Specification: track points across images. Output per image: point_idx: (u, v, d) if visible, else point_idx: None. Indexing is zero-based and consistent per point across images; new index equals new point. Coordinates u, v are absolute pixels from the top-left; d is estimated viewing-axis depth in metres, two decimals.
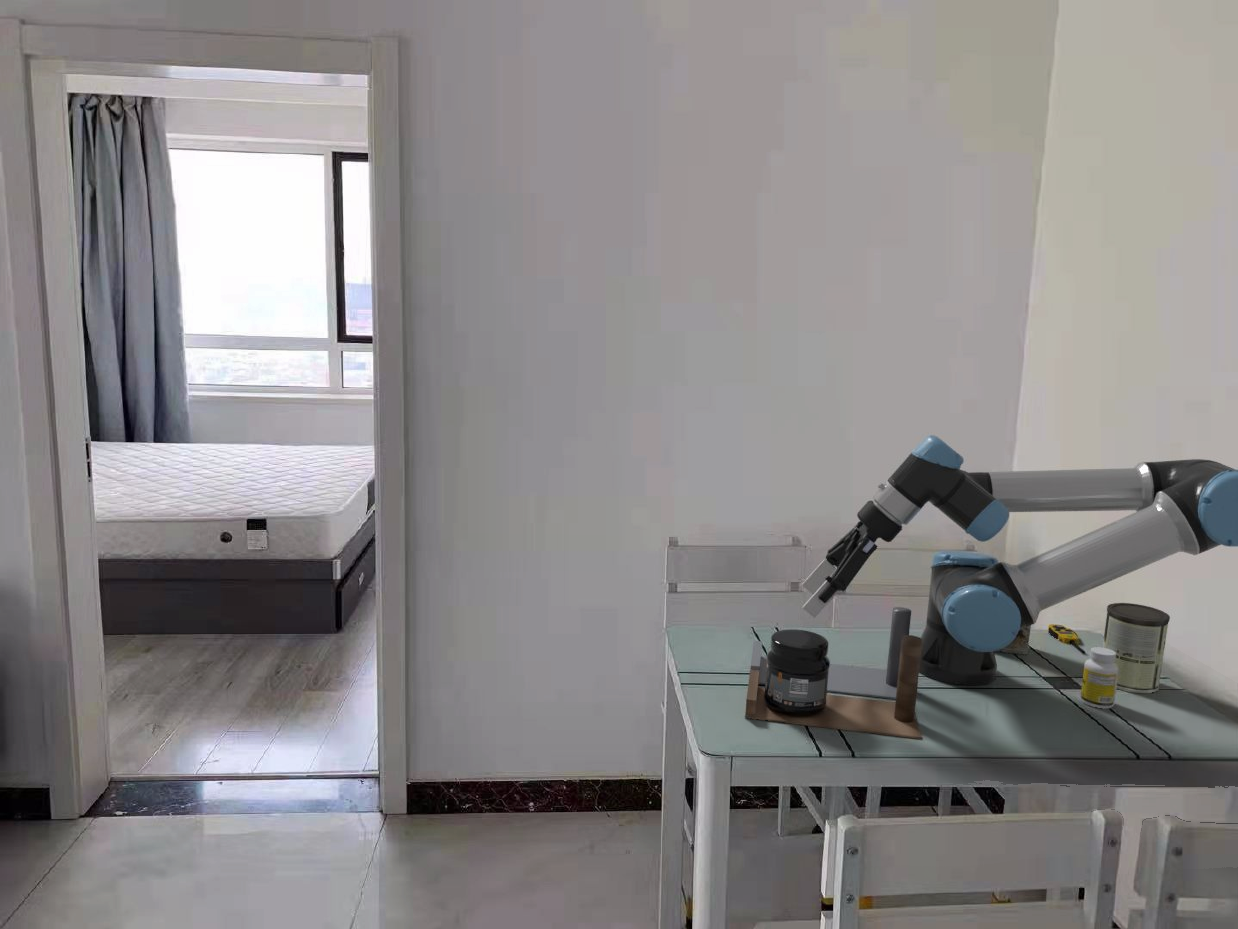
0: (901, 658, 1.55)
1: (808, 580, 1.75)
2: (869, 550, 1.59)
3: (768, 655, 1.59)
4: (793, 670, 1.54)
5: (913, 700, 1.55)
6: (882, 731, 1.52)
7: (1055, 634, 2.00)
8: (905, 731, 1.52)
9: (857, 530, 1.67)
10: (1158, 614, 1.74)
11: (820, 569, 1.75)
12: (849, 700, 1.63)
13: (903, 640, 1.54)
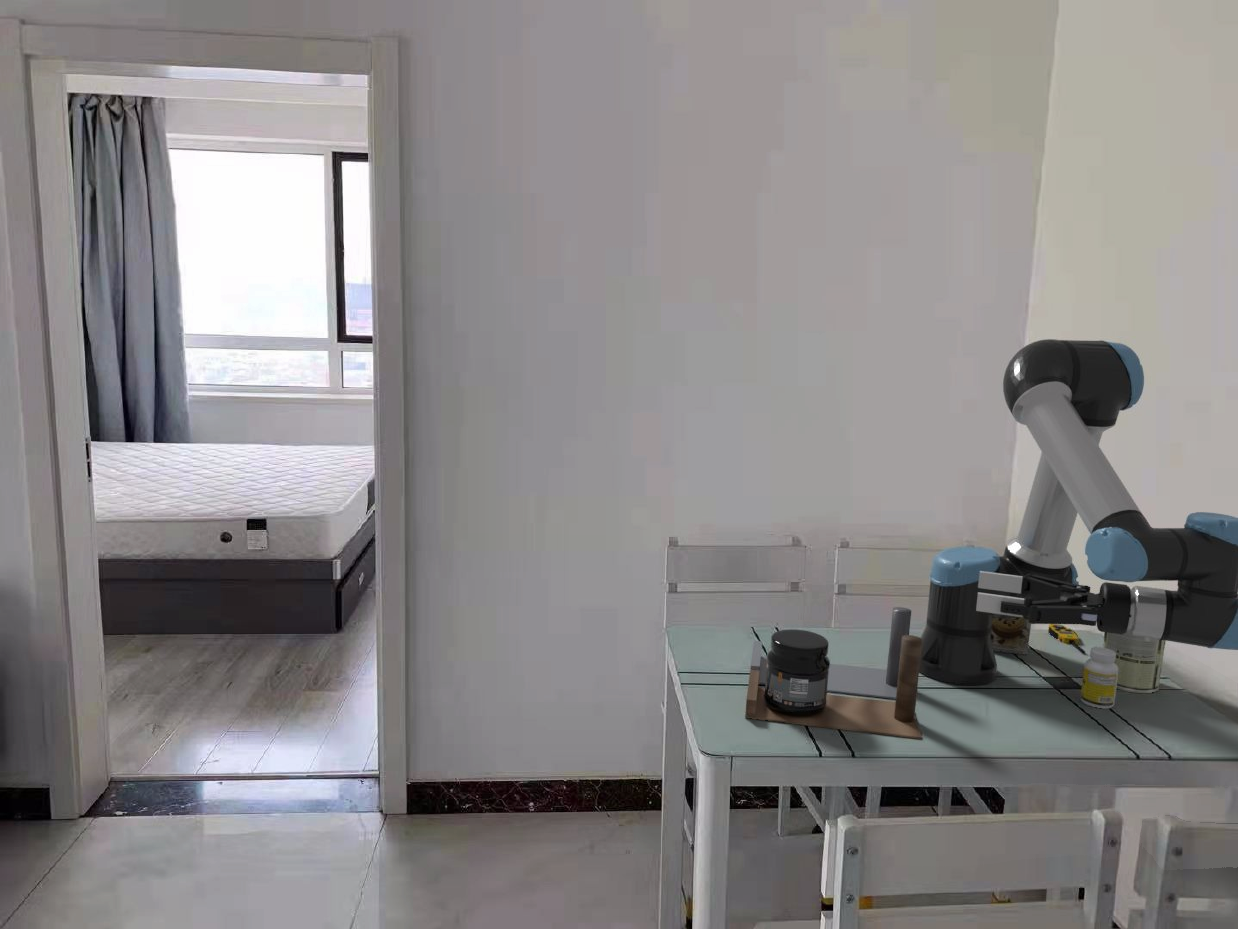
0: (901, 658, 1.55)
1: None
2: None
3: (768, 655, 1.59)
4: (793, 670, 1.54)
5: (913, 700, 1.55)
6: (882, 731, 1.52)
7: (1055, 634, 2.00)
8: (905, 731, 1.52)
9: None
10: None
11: None
12: (849, 700, 1.63)
13: (903, 640, 1.54)
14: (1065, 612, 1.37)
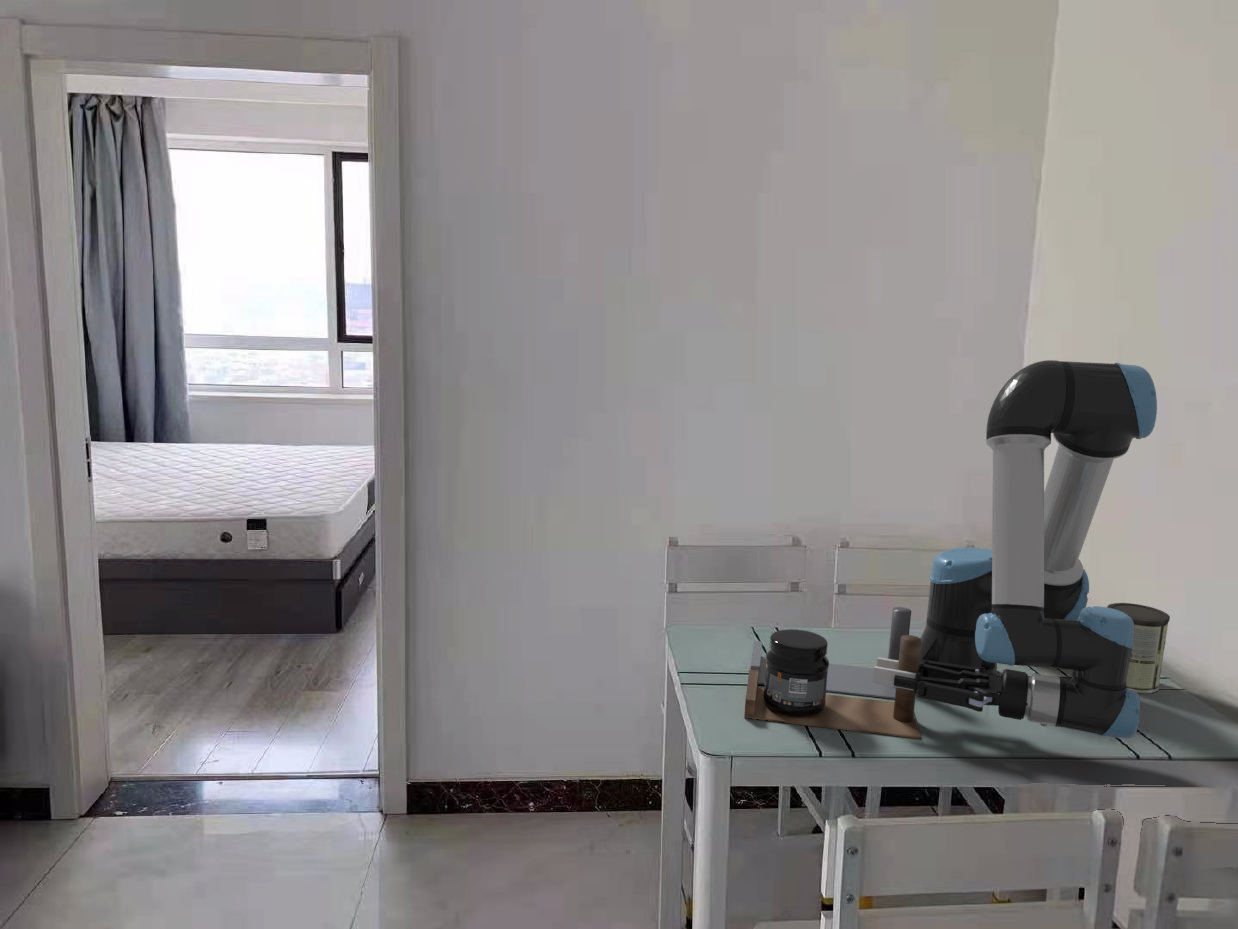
0: (900, 658, 1.55)
1: None
2: None
3: (767, 655, 1.59)
4: (792, 670, 1.54)
5: (912, 700, 1.55)
6: (881, 731, 1.52)
7: None
8: (904, 731, 1.52)
9: None
10: (1158, 614, 1.74)
11: None
12: (848, 700, 1.63)
13: (902, 640, 1.54)
14: (951, 694, 1.48)
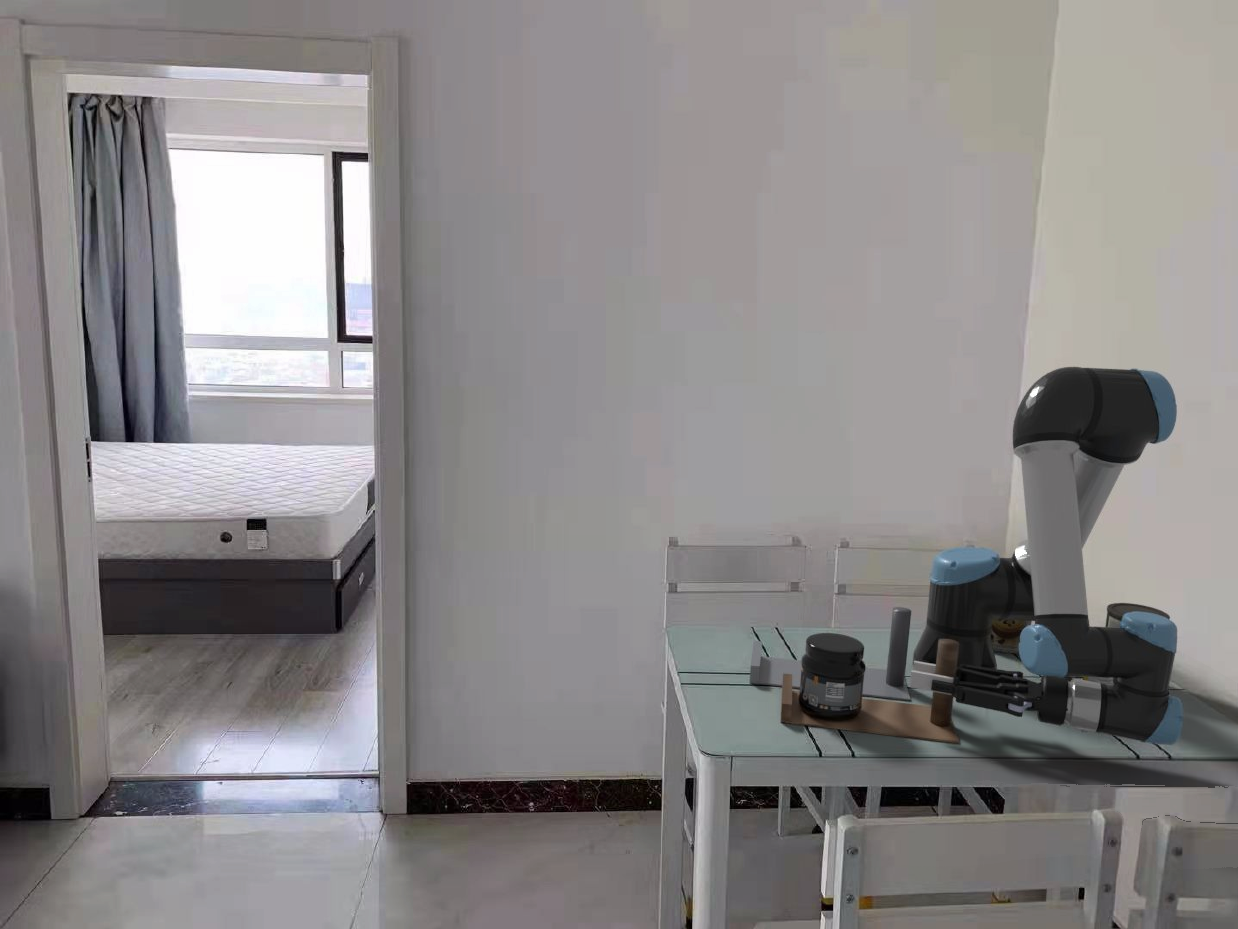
0: (938, 662, 1.54)
1: None
2: None
3: (803, 659, 1.58)
4: (829, 674, 1.53)
5: (950, 704, 1.54)
6: (919, 735, 1.51)
7: None
8: (942, 735, 1.51)
9: None
10: (1158, 614, 1.74)
11: None
12: (883, 704, 1.62)
13: (940, 644, 1.53)
14: (990, 699, 1.46)
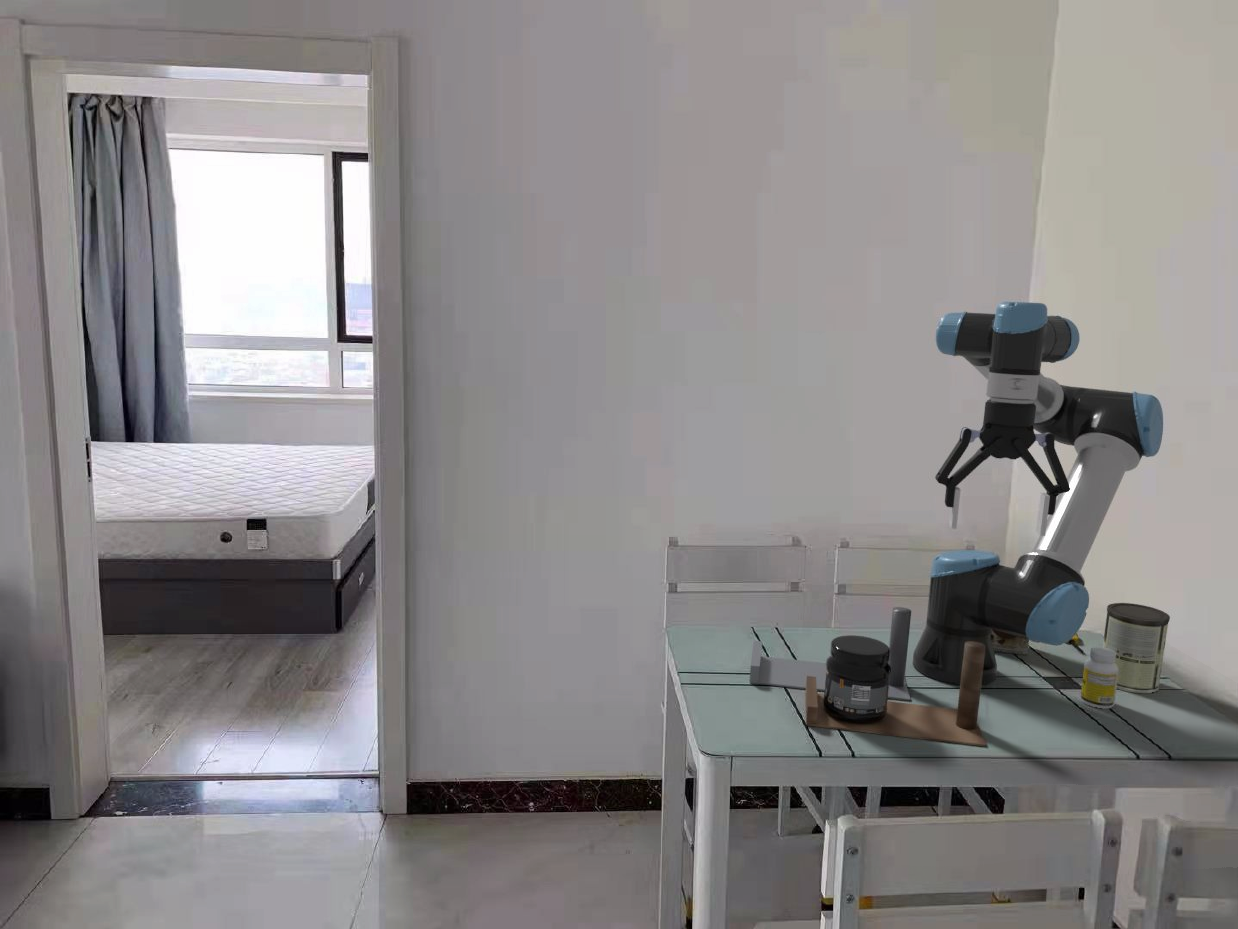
0: (964, 665, 1.53)
1: None
2: None
3: (828, 661, 1.57)
4: (855, 677, 1.52)
5: (976, 707, 1.53)
6: (946, 739, 1.50)
7: None
8: (969, 739, 1.50)
9: (1002, 437, 1.49)
10: (1158, 614, 1.74)
11: None
12: (908, 707, 1.61)
13: (966, 646, 1.52)
14: (951, 453, 1.53)
